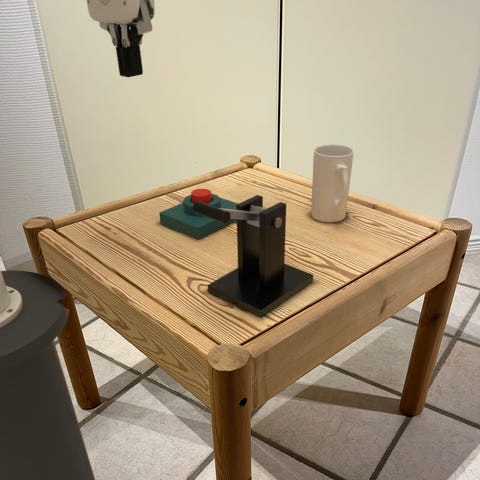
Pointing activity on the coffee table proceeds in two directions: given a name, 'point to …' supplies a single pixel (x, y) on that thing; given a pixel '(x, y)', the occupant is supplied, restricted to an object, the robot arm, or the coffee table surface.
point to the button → (201, 196)
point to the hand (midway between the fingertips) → (131, 75)
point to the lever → (228, 213)
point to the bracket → (261, 263)
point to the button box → (195, 217)
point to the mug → (331, 182)
